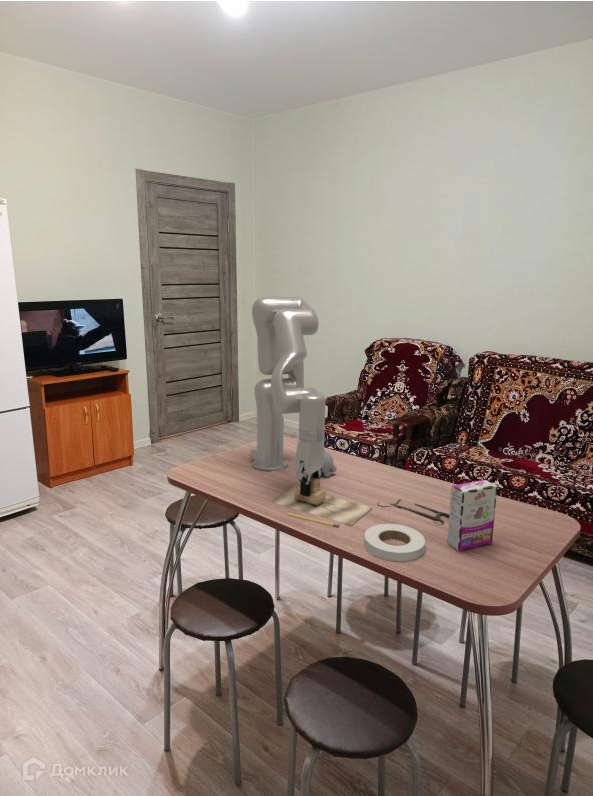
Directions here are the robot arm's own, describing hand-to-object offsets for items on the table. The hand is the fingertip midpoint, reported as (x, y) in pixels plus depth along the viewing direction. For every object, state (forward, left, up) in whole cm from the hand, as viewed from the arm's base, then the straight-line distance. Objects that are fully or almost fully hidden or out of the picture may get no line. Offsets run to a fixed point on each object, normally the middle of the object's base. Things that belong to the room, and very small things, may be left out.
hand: (310, 491), depth 165 cm
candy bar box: (+48, +1, -4) cm, 48 cm away
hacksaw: (+30, +12, -4) cm, 32 cm away
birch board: (+4, 0, -4) cm, 5 cm away
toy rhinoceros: (-9, +21, -4) cm, 23 cm away
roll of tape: (+32, -11, -4) cm, 34 cm away
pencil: (+7, -11, -4) cm, 13 cm away
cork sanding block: (0, 0, -2) cm, 2 cm away
